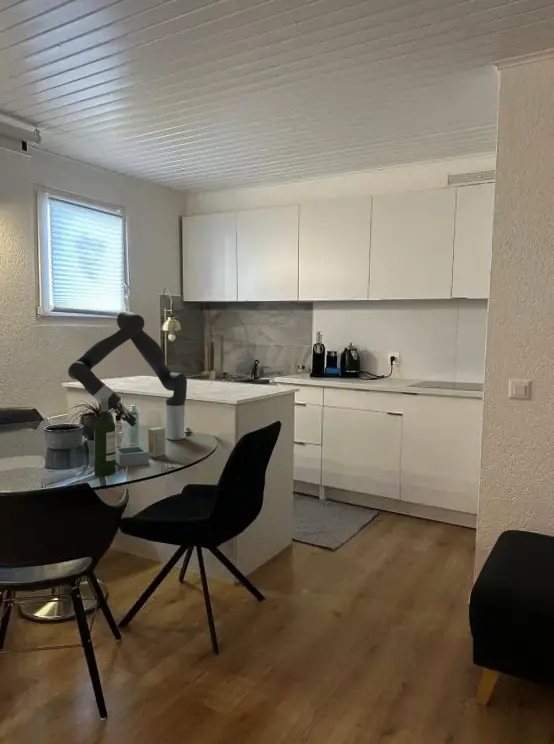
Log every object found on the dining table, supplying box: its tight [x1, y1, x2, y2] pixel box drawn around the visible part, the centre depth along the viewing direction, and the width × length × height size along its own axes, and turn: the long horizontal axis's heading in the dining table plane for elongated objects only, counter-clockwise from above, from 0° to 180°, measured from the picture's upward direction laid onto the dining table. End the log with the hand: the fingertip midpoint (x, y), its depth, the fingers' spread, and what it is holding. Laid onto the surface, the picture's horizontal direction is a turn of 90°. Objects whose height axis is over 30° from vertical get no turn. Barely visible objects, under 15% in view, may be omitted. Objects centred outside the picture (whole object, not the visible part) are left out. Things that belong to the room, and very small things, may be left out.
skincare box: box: [147, 426, 166, 458], centre depth 239 cm, size 6×4×12 cm
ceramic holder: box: [115, 445, 150, 468], centre depth 227 cm, size 12×12×5 cm
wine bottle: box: [93, 397, 117, 477], centre depth 209 cm, size 8×8×30 cm
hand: (134, 423), depth 235 cm, fingers open, 8 cm apart
